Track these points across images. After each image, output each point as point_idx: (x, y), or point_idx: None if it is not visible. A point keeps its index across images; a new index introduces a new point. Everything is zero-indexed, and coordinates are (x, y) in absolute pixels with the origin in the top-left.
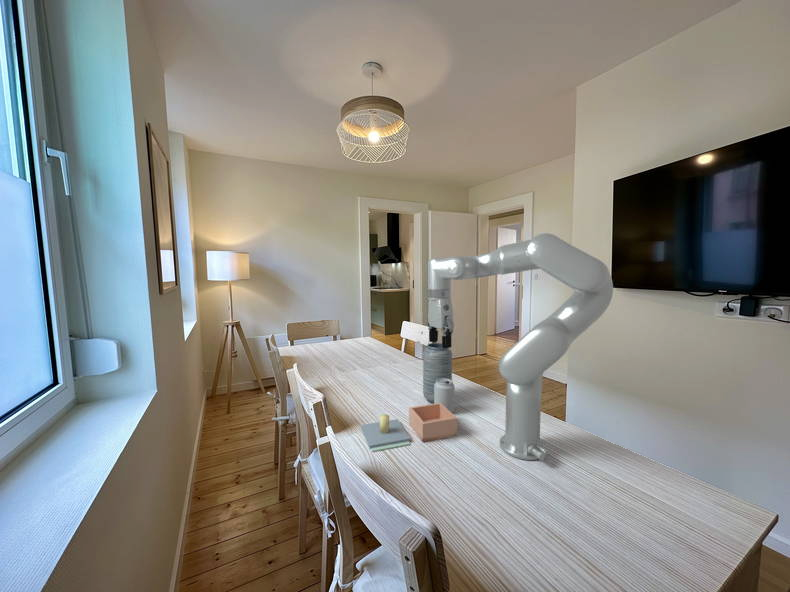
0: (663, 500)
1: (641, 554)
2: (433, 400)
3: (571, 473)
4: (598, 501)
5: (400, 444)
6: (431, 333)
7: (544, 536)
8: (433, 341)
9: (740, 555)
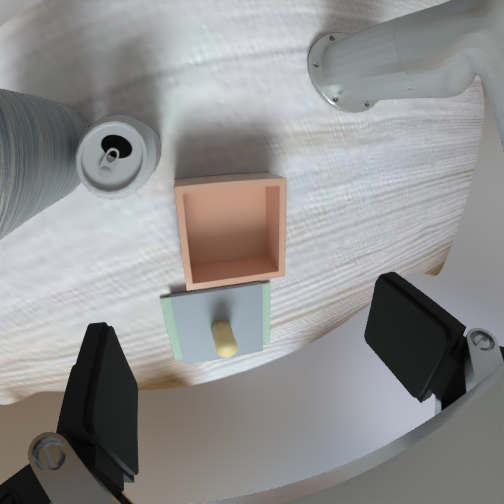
0: None
1: (471, 126)
2: None
3: None
4: None
5: (266, 301)
6: (133, 450)
7: (447, 186)
8: (126, 363)
9: None
